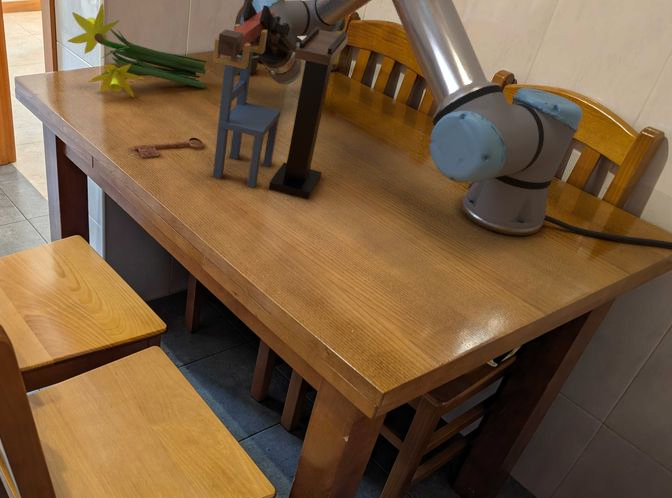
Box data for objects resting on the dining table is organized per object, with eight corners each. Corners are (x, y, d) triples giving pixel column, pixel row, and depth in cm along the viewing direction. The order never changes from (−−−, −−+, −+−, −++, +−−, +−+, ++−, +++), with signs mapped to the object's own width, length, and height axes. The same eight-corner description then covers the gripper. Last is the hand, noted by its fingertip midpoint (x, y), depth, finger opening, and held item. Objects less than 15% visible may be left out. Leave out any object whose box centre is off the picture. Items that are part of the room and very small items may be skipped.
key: (139, 159, 130) (208, 153, 135) (139, 155, 129) (209, 149, 134) (131, 145, 134) (198, 139, 139) (131, 141, 133) (199, 135, 138)
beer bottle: (251, 65, 180) (264, -33, 164) (261, 75, 174) (275, -25, 158) (224, 66, 177) (235, -34, 162) (234, 76, 172) (246, -26, 156)
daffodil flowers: (218, 104, 158) (86, 75, 138) (185, 115, 170) (59, 91, 150) (219, 31, 156) (85, -8, 136) (186, 48, 168) (58, 15, 148)
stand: (285, 165, 134) (311, 23, 116) (322, 174, 132) (355, 31, 114) (265, 193, 124) (290, 42, 106) (305, 204, 122) (338, 52, 104)
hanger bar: (259, 21, 127) (261, 4, 125) (274, 25, 127) (277, 7, 125) (217, 53, 110) (219, 33, 108) (234, 57, 109) (237, 37, 107)
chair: (222, 151, 136) (237, 23, 119) (271, 164, 134) (293, 35, 117) (201, 174, 127) (214, 39, 111) (254, 188, 125) (275, 52, 108)
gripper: (305, 76, 139) (290, 41, 117) (238, 61, 143) (210, 24, 120) (315, 39, 138) (302, -3, 115) (247, 25, 141) (221, -18, 119)
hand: (255, 11), depth 118 cm, fingers closed on hanger bar, 2 cm apart
